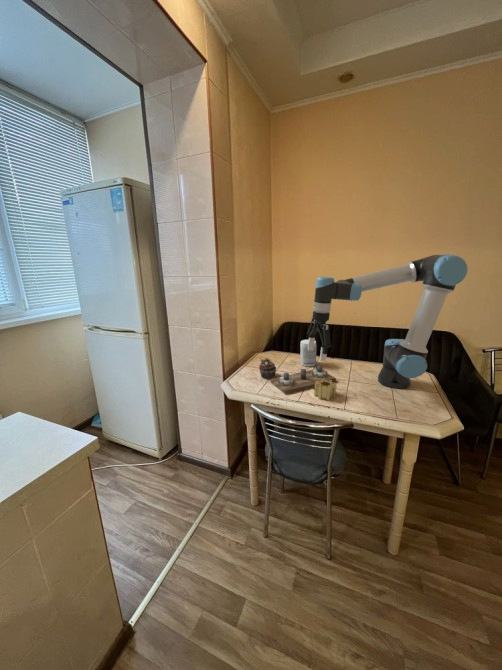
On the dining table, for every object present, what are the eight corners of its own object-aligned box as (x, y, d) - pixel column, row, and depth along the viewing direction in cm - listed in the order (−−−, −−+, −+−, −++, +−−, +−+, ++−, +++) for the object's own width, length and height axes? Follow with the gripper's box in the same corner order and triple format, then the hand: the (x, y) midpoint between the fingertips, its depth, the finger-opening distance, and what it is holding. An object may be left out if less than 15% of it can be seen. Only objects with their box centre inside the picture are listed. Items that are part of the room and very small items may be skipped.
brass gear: (340, 397, 132) (340, 385, 131) (323, 402, 129) (323, 390, 127) (326, 388, 141) (327, 377, 140) (310, 393, 137) (310, 381, 136)
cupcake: (270, 381, 152) (270, 363, 150) (256, 377, 158) (255, 360, 155) (279, 374, 160) (279, 358, 157) (265, 371, 165) (265, 355, 163)
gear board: (335, 381, 149) (336, 369, 147) (285, 394, 137) (285, 381, 135) (318, 371, 162) (318, 360, 160) (271, 382, 150) (270, 370, 148)
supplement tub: (319, 364, 172) (320, 341, 168) (308, 368, 167) (308, 345, 163) (308, 360, 180) (308, 338, 176) (296, 363, 175) (297, 341, 171)
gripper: (303, 306, 139) (299, 346, 145) (326, 317, 115) (320, 365, 121) (317, 306, 140) (312, 346, 146) (343, 317, 117) (336, 364, 123)
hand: (316, 355), depth 134 cm, fingers open, 13 cm apart
